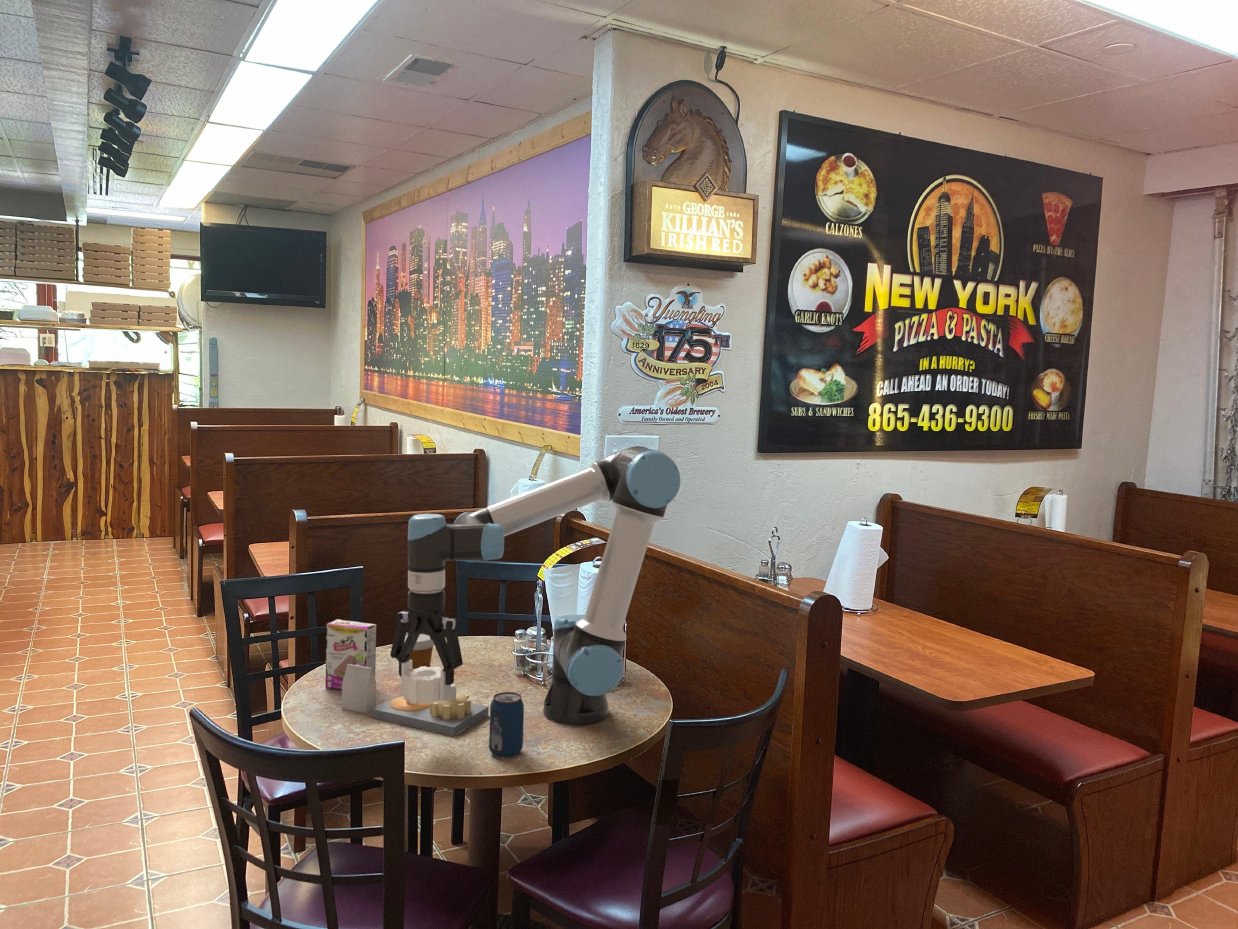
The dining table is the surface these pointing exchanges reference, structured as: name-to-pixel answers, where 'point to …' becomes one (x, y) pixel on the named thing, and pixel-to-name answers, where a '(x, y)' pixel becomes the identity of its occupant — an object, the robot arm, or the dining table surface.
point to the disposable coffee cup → (421, 651)
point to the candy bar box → (348, 649)
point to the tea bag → (358, 689)
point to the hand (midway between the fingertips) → (426, 695)
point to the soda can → (506, 725)
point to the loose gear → (422, 685)
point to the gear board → (433, 713)
